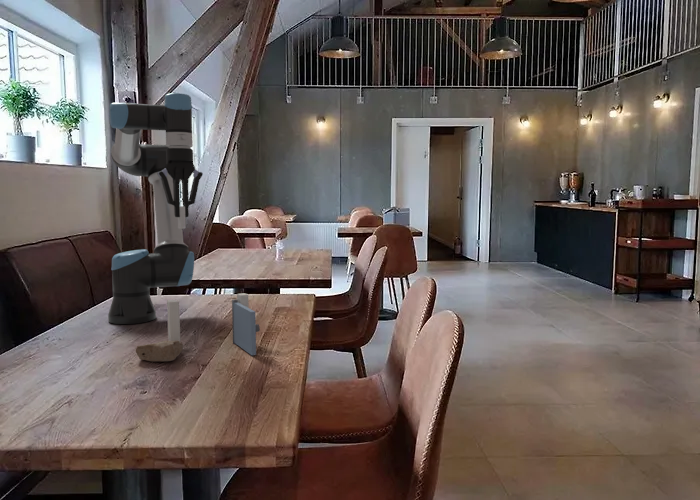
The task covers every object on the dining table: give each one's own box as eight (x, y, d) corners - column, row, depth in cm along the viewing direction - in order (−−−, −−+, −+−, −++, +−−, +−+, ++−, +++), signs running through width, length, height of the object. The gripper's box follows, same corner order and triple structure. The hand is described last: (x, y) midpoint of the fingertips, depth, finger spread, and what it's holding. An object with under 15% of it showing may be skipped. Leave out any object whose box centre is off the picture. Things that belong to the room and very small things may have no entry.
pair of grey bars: (168, 351, 157) (166, 300, 156) (245, 340, 168) (244, 293, 167) (171, 353, 154) (169, 302, 153) (249, 342, 166) (248, 294, 164)
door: (251, 357, 151) (250, 309, 150) (232, 342, 165) (231, 299, 164) (261, 355, 153) (261, 308, 152) (242, 341, 167) (241, 298, 166)
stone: (168, 365, 143) (165, 346, 142) (133, 363, 148) (129, 344, 147) (191, 352, 151) (188, 334, 150) (156, 350, 156) (153, 333, 155)
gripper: (159, 146, 162) (162, 229, 165) (205, 148, 169) (207, 228, 171) (153, 148, 169) (156, 228, 171) (198, 149, 175) (200, 226, 178)
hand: (181, 228), depth 171 cm, fingers closed
